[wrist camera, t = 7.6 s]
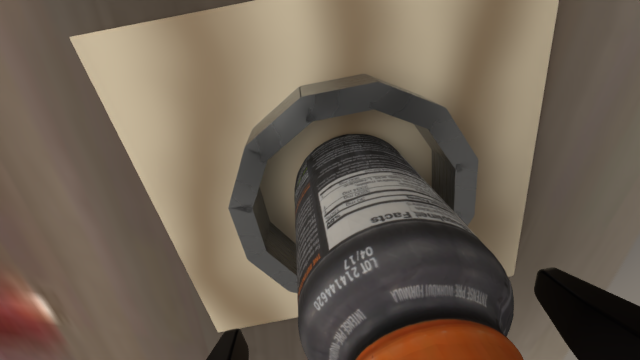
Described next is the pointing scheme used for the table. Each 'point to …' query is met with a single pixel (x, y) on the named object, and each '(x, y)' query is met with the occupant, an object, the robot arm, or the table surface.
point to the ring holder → (319, 121)
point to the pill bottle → (391, 264)
